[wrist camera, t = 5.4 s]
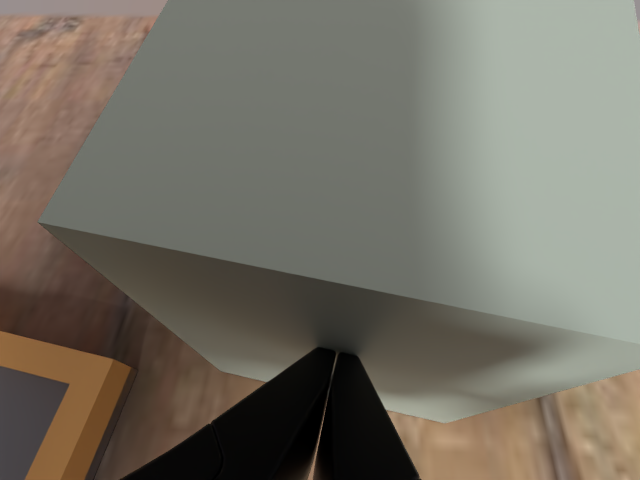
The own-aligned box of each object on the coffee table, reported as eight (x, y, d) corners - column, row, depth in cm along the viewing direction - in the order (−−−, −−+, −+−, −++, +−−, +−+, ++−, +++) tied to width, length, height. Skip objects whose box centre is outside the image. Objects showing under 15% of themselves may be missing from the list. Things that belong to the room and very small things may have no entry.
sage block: (444, 423, 15) (692, 353, 5) (220, 371, 15) (37, 222, 6) (461, 221, 18) (624, -58, 8) (278, 188, 19) (227, -101, 9)
